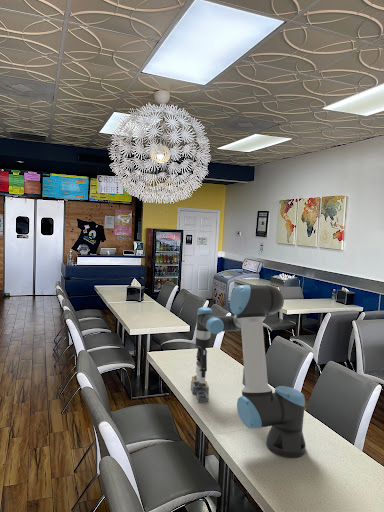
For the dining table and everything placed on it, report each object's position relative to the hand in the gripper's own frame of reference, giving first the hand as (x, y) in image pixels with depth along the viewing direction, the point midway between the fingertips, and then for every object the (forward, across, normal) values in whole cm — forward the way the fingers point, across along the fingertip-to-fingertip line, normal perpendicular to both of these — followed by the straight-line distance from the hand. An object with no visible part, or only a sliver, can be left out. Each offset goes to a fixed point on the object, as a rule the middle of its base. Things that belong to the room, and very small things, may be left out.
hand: (200, 377), depth 203 cm
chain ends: (+7, 0, 0) cm, 7 cm away
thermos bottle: (+7, +10, -30) cm, 32 cm away
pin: (+7, 0, 0) cm, 7 cm away
